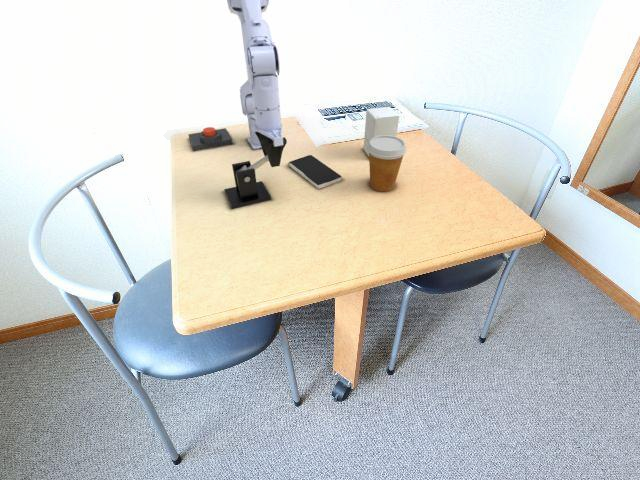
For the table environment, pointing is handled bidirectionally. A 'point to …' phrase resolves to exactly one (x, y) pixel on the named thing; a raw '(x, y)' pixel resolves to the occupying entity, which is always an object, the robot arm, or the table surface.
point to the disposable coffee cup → (385, 161)
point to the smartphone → (315, 171)
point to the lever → (255, 164)
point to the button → (209, 131)
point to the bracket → (246, 187)
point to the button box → (210, 140)
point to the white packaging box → (380, 124)
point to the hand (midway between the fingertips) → (272, 161)
